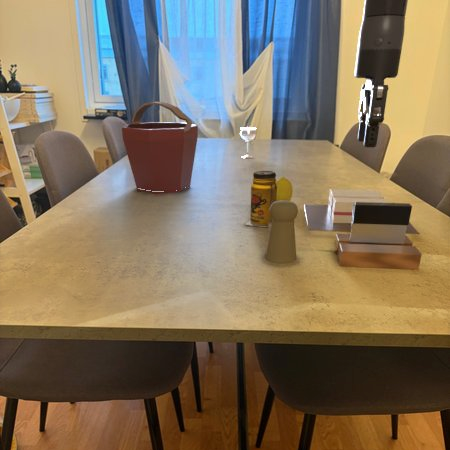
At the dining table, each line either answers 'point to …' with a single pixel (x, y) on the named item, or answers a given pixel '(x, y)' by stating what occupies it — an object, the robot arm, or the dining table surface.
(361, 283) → the dining table surface
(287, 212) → the cork
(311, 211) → the cake board
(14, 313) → the dining table surface
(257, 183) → the condiment
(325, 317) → the dining table surface
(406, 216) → the black and beige panel
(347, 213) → the cake slice
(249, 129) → the wineglass
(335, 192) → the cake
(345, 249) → the wooden card holder
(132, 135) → the bucket
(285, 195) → the lemon
